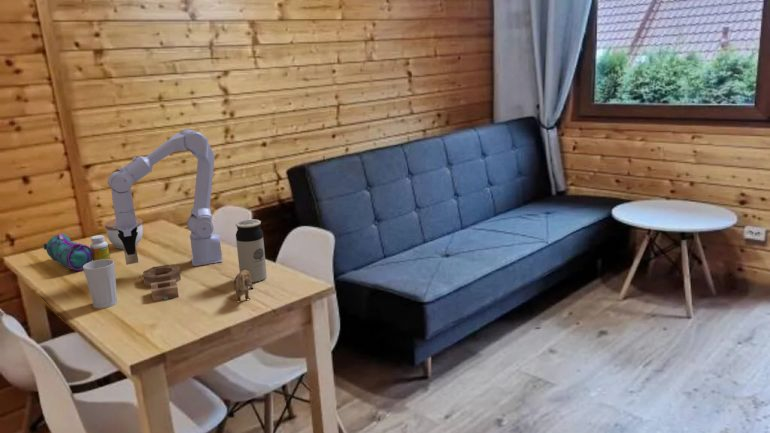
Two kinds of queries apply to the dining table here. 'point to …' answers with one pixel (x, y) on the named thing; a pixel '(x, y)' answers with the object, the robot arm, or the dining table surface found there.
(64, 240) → the pencil case
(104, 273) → the cup
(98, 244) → the supplement bottle
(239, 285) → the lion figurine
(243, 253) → the travel mug
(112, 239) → the lidded bowl
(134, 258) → the brown and teal block
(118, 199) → the robot arm
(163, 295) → the threaded bead
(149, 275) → the brown faceted ring
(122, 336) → the dining table surface
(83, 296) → the dining table surface
